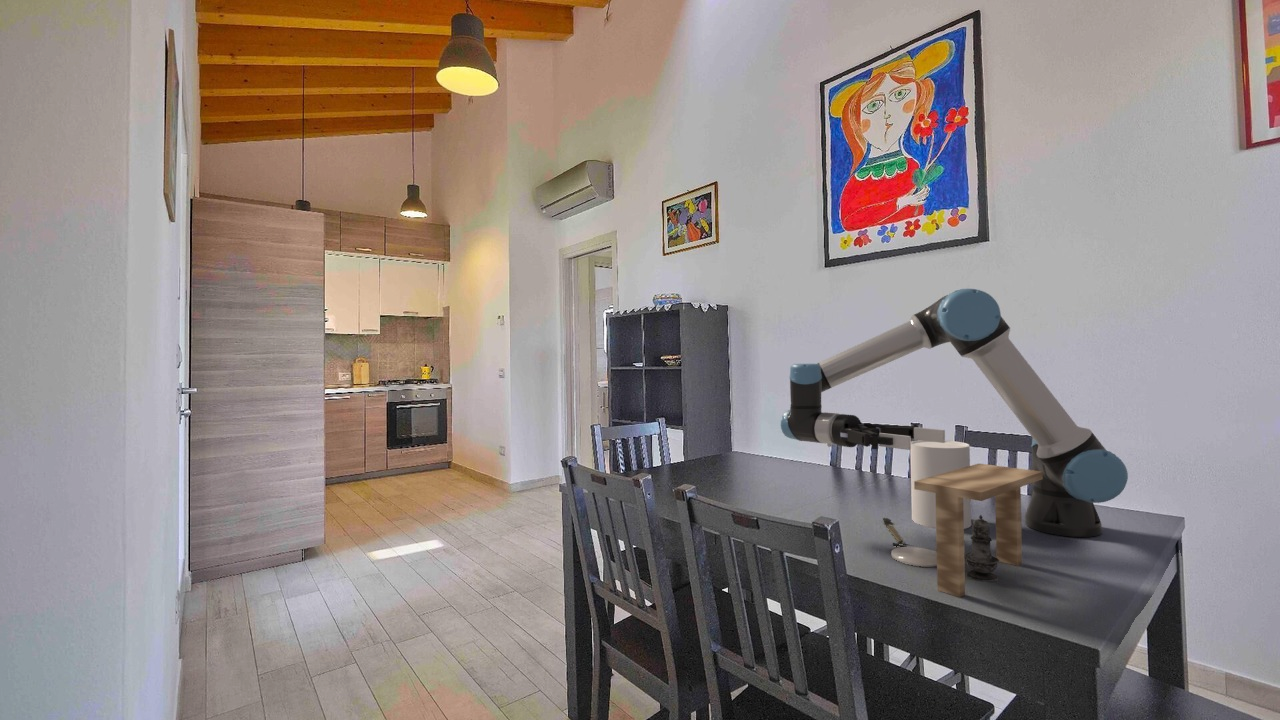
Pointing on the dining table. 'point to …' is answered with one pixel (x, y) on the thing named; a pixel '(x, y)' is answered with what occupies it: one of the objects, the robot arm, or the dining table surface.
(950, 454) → the canister
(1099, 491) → the robot arm
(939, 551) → the wooden stool
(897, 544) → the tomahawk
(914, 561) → the coaster
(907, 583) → the dining table surface
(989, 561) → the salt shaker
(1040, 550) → the dining table surface
